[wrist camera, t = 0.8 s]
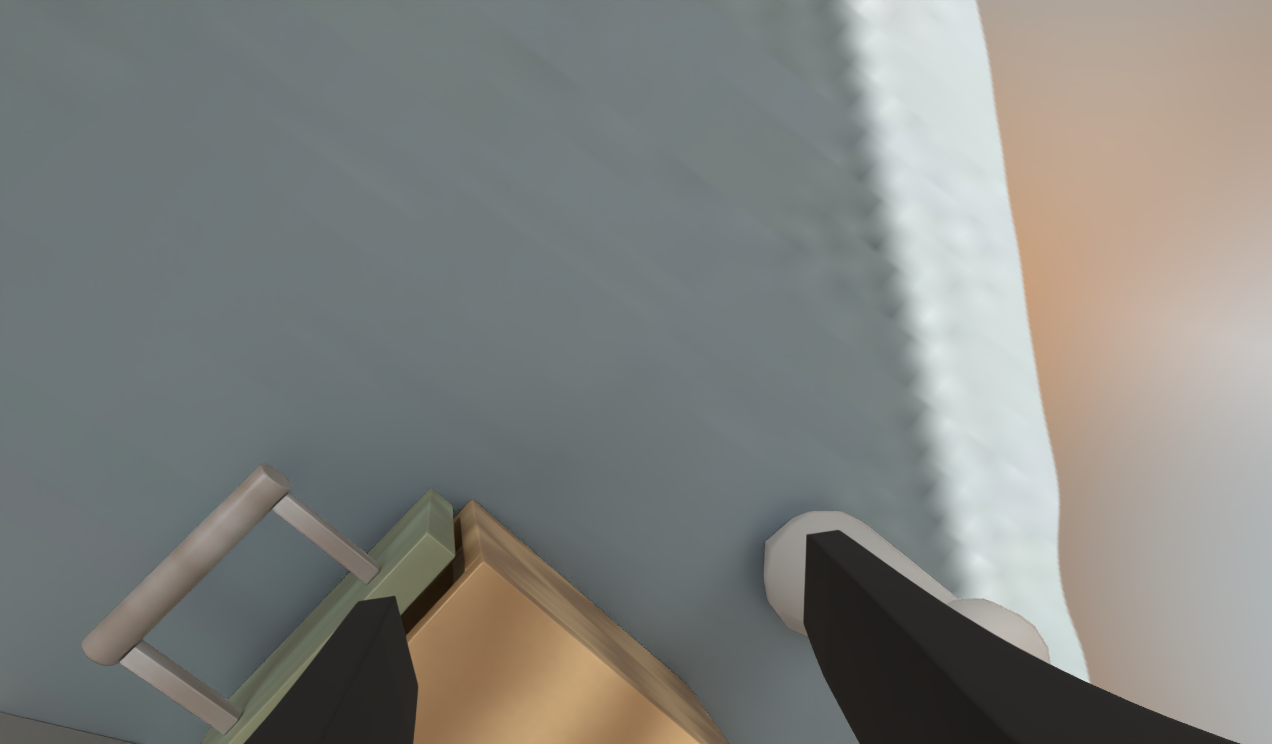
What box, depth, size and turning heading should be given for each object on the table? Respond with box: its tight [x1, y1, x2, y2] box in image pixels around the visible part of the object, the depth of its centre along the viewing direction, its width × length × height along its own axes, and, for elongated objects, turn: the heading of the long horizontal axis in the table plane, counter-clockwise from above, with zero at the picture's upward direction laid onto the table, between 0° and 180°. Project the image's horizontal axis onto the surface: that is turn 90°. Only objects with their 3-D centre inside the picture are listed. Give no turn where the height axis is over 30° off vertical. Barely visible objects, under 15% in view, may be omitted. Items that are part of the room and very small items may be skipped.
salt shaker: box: [763, 511, 1050, 664], centre depth 27 cm, size 6×6×13 cm
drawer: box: [81, 464, 465, 744], centre depth 25 cm, size 18×11×7 cm, turn 46°
